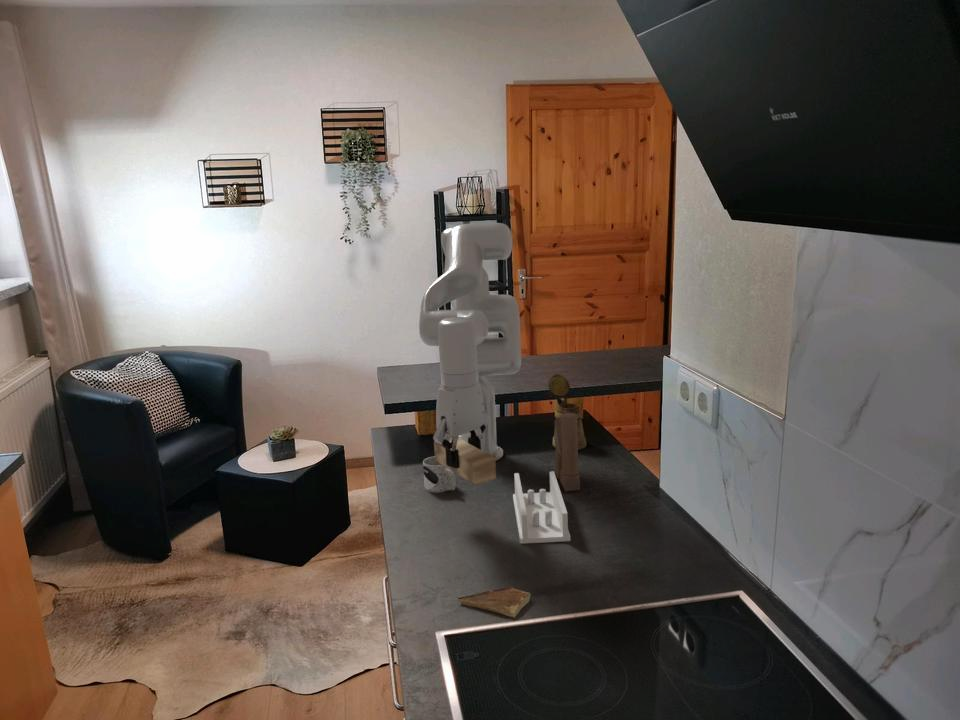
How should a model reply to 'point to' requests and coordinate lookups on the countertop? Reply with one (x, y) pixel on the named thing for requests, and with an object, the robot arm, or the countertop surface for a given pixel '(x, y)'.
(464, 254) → the robot arm
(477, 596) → the shard
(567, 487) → the wooden block
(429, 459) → the mug
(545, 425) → the countertop surface
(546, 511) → the peg stand
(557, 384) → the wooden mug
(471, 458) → the wooden bar
